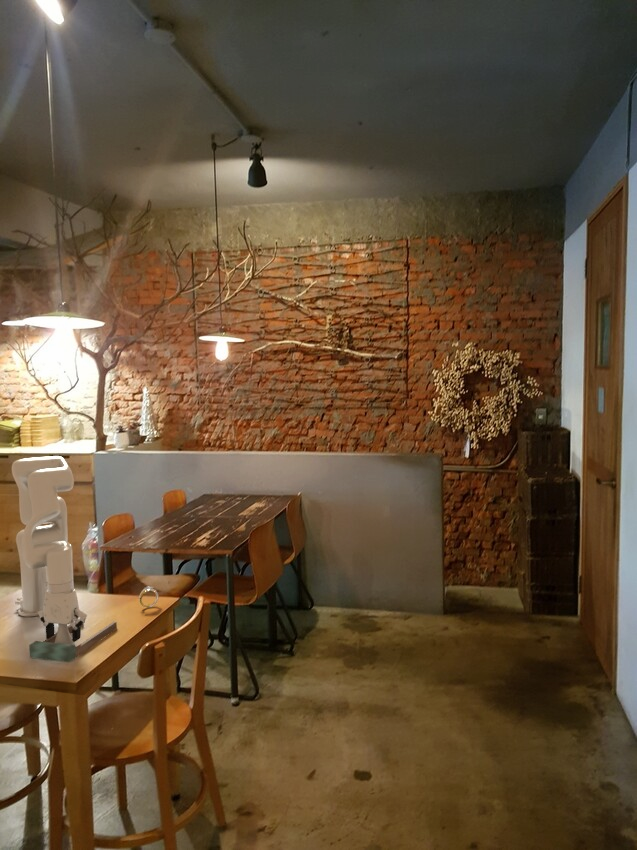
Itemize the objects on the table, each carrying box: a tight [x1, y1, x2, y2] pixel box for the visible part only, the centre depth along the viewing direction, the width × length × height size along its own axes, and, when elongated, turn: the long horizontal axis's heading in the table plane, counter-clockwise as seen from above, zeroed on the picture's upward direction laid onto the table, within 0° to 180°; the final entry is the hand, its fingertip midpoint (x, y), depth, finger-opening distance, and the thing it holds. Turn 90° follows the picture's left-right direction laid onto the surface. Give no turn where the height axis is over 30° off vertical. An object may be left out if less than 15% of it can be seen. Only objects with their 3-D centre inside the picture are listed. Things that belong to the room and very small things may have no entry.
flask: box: [54, 624, 77, 647], centre depth 191 cm, size 7×7×10 cm
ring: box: [138, 585, 159, 609], centre depth 226 cm, size 7×3×8 cm, turn 116°
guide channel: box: [28, 618, 118, 663], centre depth 197 cm, size 14×25×4 cm, turn 165°
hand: (63, 638), depth 191 cm, fingers open, 9 cm apart
